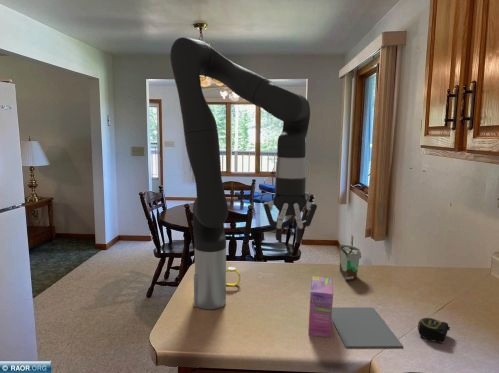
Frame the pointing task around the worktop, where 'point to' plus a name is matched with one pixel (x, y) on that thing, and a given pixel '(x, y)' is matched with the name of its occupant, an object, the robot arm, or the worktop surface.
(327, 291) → the box
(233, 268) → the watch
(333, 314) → the mat
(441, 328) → the tape measure
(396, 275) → the worktop surface
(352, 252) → the food container
